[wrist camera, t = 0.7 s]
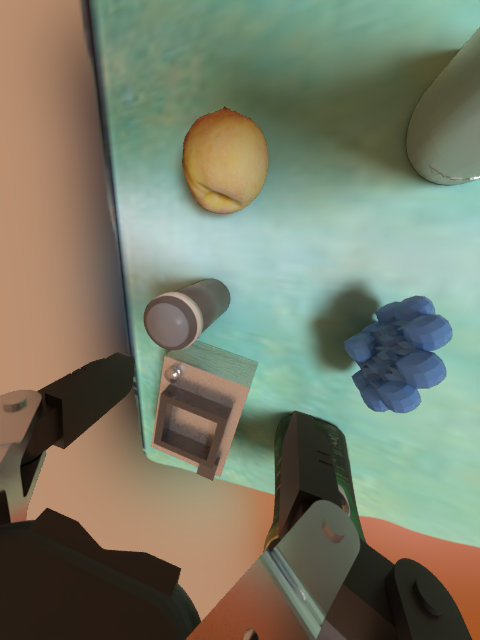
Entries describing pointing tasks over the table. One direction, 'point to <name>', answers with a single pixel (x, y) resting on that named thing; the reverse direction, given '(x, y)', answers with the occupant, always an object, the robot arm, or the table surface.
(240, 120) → the fruit
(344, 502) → the coffee jar
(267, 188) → the table surface
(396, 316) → the grapes
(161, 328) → the flashlight
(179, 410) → the box with square recess
